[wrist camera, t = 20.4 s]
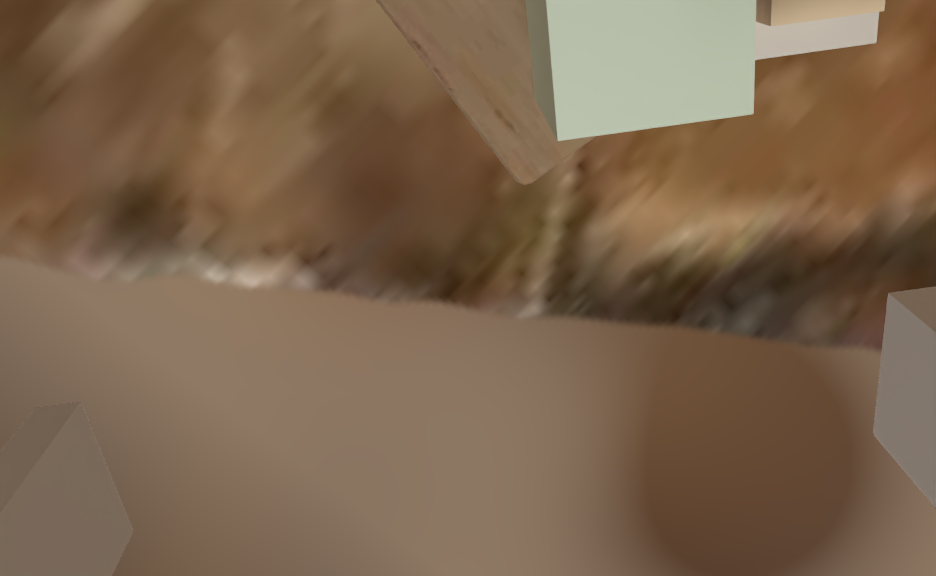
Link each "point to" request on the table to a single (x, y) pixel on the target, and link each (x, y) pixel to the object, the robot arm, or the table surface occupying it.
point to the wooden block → (486, 75)
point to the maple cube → (811, 10)
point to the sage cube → (640, 63)
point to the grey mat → (815, 35)
